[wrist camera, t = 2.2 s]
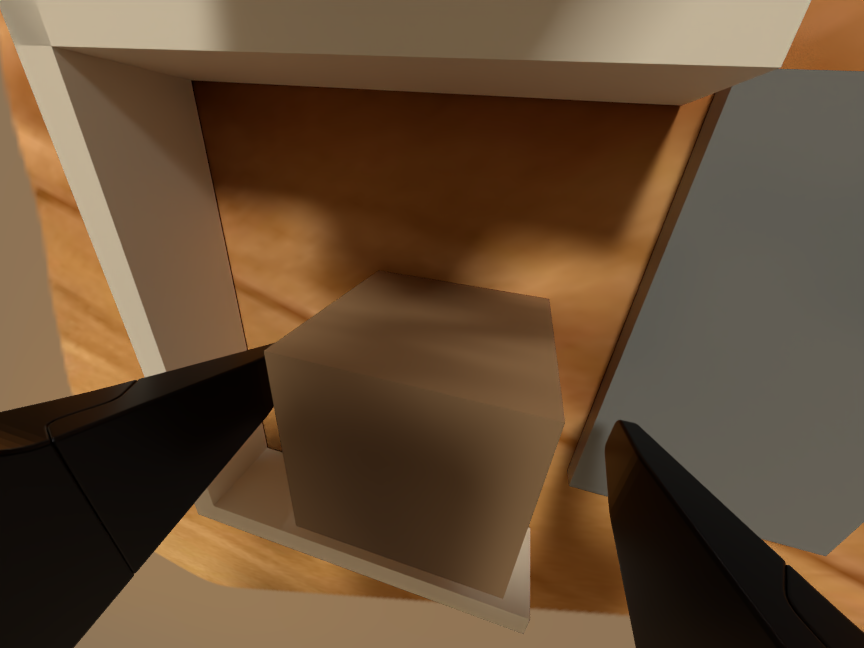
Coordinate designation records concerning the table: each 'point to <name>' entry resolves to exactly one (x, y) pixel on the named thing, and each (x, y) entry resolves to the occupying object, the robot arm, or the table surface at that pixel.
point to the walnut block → (421, 422)
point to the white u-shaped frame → (337, 68)
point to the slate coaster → (756, 315)
